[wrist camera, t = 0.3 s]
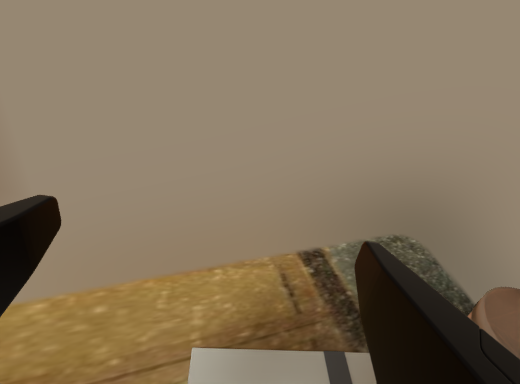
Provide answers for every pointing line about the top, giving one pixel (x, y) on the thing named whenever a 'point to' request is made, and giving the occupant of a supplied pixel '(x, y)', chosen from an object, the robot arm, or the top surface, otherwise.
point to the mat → (279, 367)
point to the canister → (500, 316)
